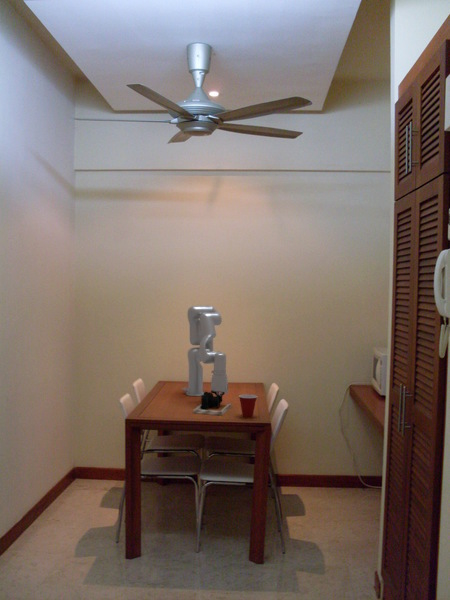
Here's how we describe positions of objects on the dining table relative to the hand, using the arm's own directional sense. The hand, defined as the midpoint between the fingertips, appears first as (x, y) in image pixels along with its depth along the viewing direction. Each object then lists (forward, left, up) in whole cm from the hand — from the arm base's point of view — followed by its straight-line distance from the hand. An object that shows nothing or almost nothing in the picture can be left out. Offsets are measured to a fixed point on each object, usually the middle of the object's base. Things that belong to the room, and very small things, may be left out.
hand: (219, 402), depth 335 cm
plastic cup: (+22, -19, -2) cm, 29 cm away
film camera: (-3, -7, -2) cm, 8 cm away
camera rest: (-1, -11, -2) cm, 11 cm away
